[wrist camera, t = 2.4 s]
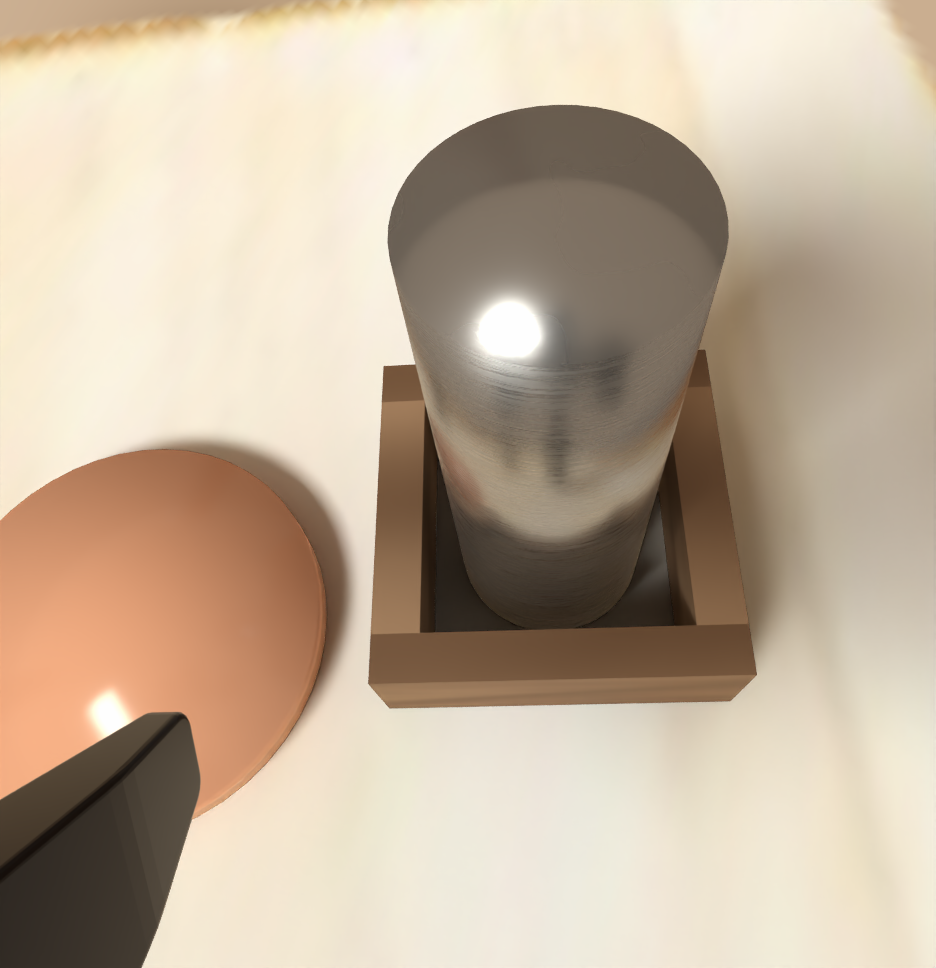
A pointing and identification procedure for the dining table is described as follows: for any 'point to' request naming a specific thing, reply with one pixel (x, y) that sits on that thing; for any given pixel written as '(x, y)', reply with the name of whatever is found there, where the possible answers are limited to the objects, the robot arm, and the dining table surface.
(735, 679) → the pocket block
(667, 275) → the peg
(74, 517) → the coaster
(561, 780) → the dining table surface
